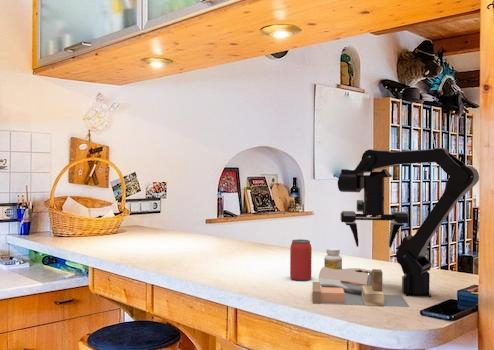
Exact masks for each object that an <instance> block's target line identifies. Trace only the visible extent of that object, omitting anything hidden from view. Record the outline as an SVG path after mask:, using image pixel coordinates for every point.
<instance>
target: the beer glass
mask: <svg viewBox="0 0 494 350" xmlns="http://www.w3.org/2000/svg"><path fill="white" fill-rule="evenodd" d="M318 282H320V287H329V288H343V290H344V292H346V293H347V292H348V293H350V294H362V285H363V286H372V270H370V269H366V268H360V267H359V268H356V267H353V268H352V267H349V268H342V269H331V268H328V267H324V266H323V267H321V269H320V270H319V273H318Z"/></svg>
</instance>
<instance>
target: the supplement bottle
mask: <svg viewBox="0 0 494 350" xmlns="http://www.w3.org/2000/svg"><path fill="white" fill-rule="evenodd" d="M340 252H341V251H340V248H336V247H335V248H332V247H330V248H328V247H327V248H326V255H325V256H324V262H323V263H324V264H323V265H324V266H323V267H328V268H331V269H343V257H342V256H341V255H340Z"/></svg>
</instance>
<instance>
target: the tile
mask: <svg viewBox="0 0 494 350" xmlns="http://www.w3.org/2000/svg"><path fill="white" fill-rule="evenodd" d="M320 288H321V302H328V303H344V293H345V291H344V290H343V288H329V287H321V286H320Z"/></svg>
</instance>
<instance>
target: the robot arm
mask: <svg viewBox="0 0 494 350" xmlns="http://www.w3.org/2000/svg"><path fill="white" fill-rule="evenodd" d="M427 163H429V164H430V163H436V164H437V165H438V166H439V167H440V168H441V170H443V172H444V173H445V174H446V175H448V176H449V177H448V179H447V181H446V184H445V188H444V191H443V193H442V195H441V196H440V198H439V199H438V201H437V202H436V204H435V205H434V206H433V207H432V209H431V211H430V212H429V213H428V215H427V217H426V218H425V219H424V221H423V222H422V224H420V226H419V228H418V229H417V231H416V232H415V233H414V235H412V234H409V235H407V236H403V239H402V241H401V242H400V244H399V245H398V246H397V247H396V248H395V249H396V250H397V251H396V252H395V260H396V263H398V264H399V265H400V268H401V270H402V273H403V275H402V277H401V291H402V292H403V294H404V295H405V296H406V297H418V298H419V297H422V298H425V297H427V298H431V297H432V294H431V293H430V280H431V279H430V274H431V273H430V272H429V271H430V270H431V268H432V266H433V265H432V263H431V260H429V259H428V258H427V256H425V254H426V253H427V251H428V248H429V245H430V244H429V243H430V242H431V240H432V239H433V237H434V235H435V234H436V233H437V231H439V228H440V227H441V225H443V222H445V219H447V217H448V216H449V214H450V213H451V211H452V210H453V209H454V207H455V205H456V204H457V202H458V201H460V199H461V198H462V197H464V196H465V195H466V194H467V193H469V191H471V189H473V188H474V187H475V186H476V185H477V184H478V182H479V180H480V175H479V172H478V170H477V168H475V167H474V166H472V165H466V163H464V162H463V161H461V160H460V159H459V158H457V157H456V156H454V155H453V154H452V153H451V152H449V150H448V149H446V148H444V147H435V148H429V149H427V148H426V149H416V150H415V149H414V150H413V149H412V150H399V151H391V150H384V149H383V150H382V149H372V148H371V149H367V150H365V151H364V152H363V154H362V155H361V160H360V161H359V162H358V164H357V166H356V167H355V168H354V169H349V168H347V169H346V168H343V169H341V170H340V174H339V176H338V180H337V188H338V189H337V190H338V191H340V192H341V193H360V192H361V191H362V190H363V199H357V200H356V212H358V213H356V212H355V210H354V211H353V210H352V211H351V210H342V211H341V212H340V221H341V223H344V224H345V225H346V226H349V228H350V230H351V233H352V235H353V239H354V242H355V245H356V247H359V234H358V225H357V222H356V221H391V222H390V227H389V228H390V230H389V231H390V232H389V236H388V237H389V239H388V247H389V248H392V246H393V243H394V240H395V237H396V235H397V233H398V232H399V230H400V228H401V227H405V224H409V222H410V217H409V214H408V213H407V212H406V211H391V214H389V213H388V214H386V213H385V178H392V176H393V175H392V174H391V173H390V172H389V171H388V170H387V168H391V167H394V166H398V165H410V164H427ZM376 170H381V171H376ZM365 173H367V175H366V174H365ZM368 173H369V175H368ZM364 174H365V175H364ZM359 212H362V213H359Z"/></svg>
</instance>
